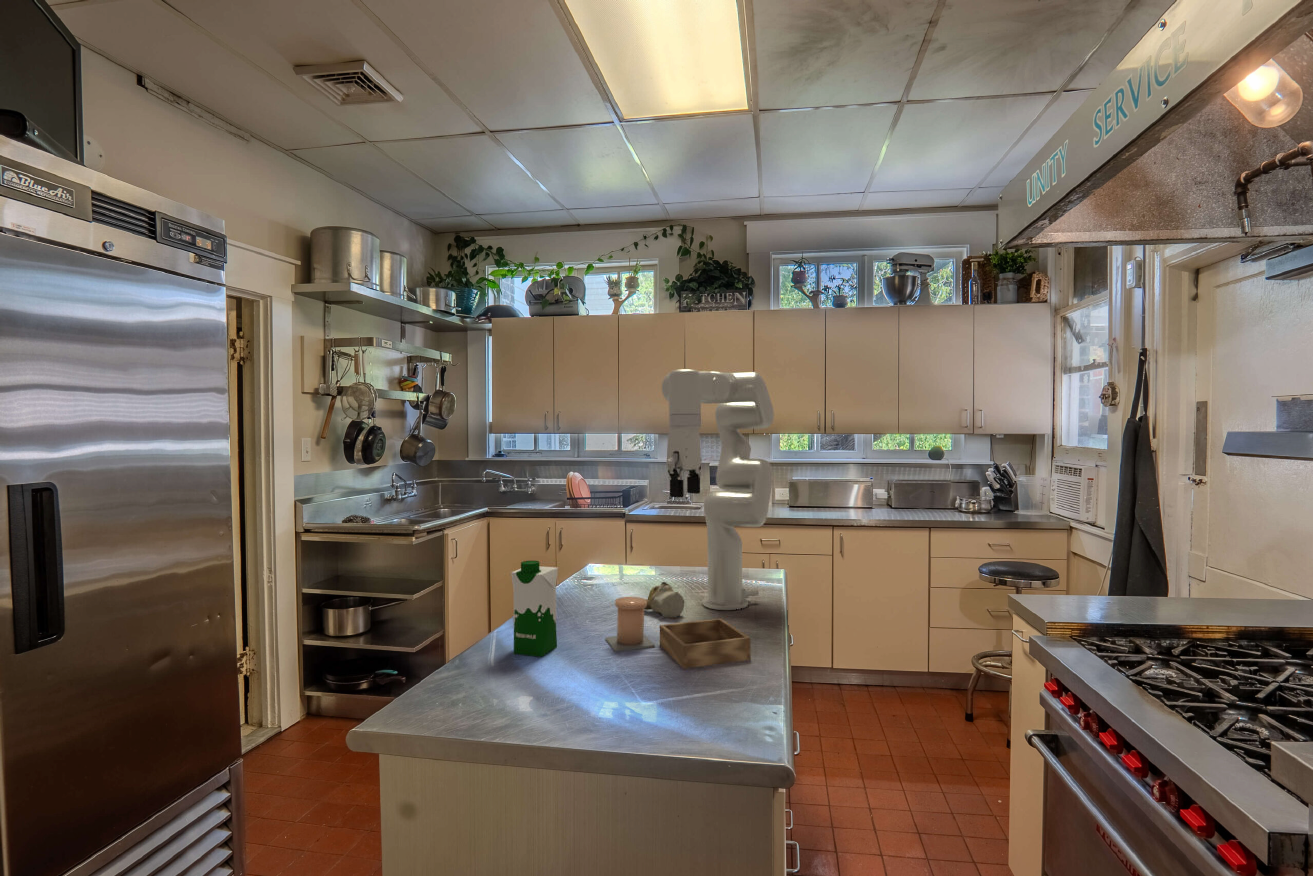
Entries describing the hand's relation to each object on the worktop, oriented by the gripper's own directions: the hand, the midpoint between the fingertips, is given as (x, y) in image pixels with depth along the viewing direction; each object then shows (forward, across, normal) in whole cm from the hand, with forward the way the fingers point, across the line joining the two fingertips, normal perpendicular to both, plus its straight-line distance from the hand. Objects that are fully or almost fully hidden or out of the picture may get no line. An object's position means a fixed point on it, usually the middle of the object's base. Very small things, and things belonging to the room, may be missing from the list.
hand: (685, 495), depth 153 cm
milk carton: (+34, +23, -26) cm, 48 cm away
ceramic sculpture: (+34, -15, -14) cm, 39 cm away
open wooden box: (+33, +10, +8) cm, 36 cm away
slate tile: (+33, +12, -9) cm, 36 cm away
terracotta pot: (+32, +12, -9) cm, 35 cm away
